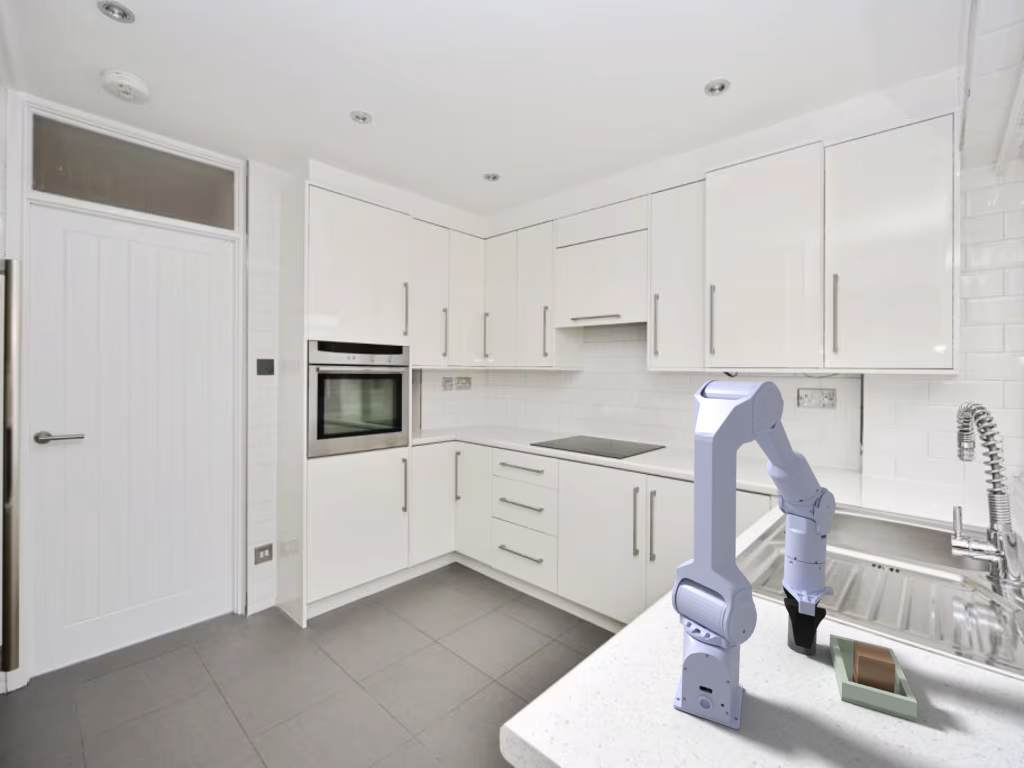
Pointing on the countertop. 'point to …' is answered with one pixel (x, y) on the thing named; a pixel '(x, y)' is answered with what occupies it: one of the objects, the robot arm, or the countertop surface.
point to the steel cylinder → (797, 648)
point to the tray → (866, 696)
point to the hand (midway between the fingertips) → (801, 639)
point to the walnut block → (873, 667)
